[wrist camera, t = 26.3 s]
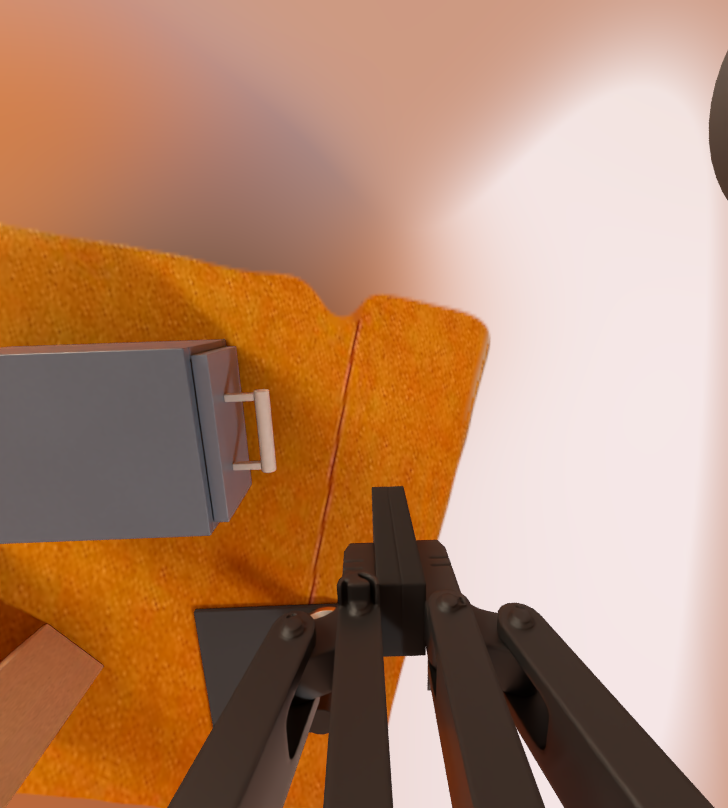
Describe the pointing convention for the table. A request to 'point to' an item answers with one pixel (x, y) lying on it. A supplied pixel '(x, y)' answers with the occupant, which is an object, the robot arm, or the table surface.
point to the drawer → (228, 428)
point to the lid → (324, 707)
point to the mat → (234, 645)
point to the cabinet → (101, 442)
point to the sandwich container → (38, 700)
